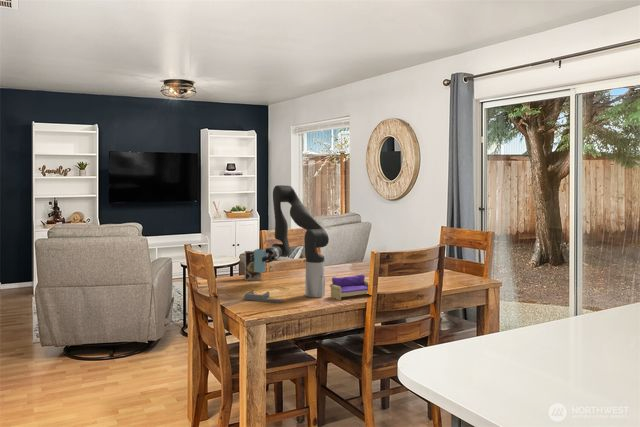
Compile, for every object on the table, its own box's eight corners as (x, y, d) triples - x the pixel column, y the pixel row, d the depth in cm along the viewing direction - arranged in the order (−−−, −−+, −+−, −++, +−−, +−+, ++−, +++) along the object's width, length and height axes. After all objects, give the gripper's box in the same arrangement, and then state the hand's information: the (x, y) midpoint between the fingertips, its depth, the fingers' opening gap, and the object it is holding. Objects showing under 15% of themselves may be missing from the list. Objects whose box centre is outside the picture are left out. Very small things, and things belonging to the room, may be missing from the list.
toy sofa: (338, 300, 262) (339, 279, 261) (329, 297, 270) (329, 276, 269) (373, 296, 273) (374, 276, 272) (363, 293, 280) (364, 273, 279)
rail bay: (288, 298, 265) (288, 293, 265) (281, 303, 255) (281, 297, 255) (252, 295, 270) (252, 290, 270) (243, 300, 260) (243, 294, 260)
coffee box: (245, 280, 306) (245, 252, 304) (244, 278, 312) (244, 250, 310) (261, 280, 308) (262, 252, 307) (260, 278, 314) (260, 250, 313)
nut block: (265, 270, 275) (265, 249, 274) (262, 272, 270) (262, 250, 269) (257, 270, 276) (257, 248, 275) (254, 272, 271) (254, 249, 271)
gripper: (257, 246, 288) (244, 251, 271) (282, 248, 284) (271, 252, 268) (257, 260, 288) (244, 266, 272) (282, 262, 285) (271, 267, 268)
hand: (258, 259), depth 270 cm, fingers closed on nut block, 4 cm apart
